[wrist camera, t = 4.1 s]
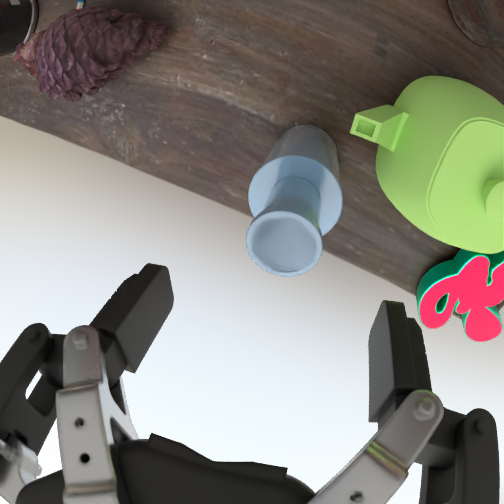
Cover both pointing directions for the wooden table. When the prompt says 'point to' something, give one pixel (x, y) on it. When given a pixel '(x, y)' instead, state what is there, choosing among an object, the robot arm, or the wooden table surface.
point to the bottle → (294, 201)
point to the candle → (480, 20)
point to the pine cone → (87, 50)
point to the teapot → (442, 160)
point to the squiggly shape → (464, 293)
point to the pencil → (80, 4)
